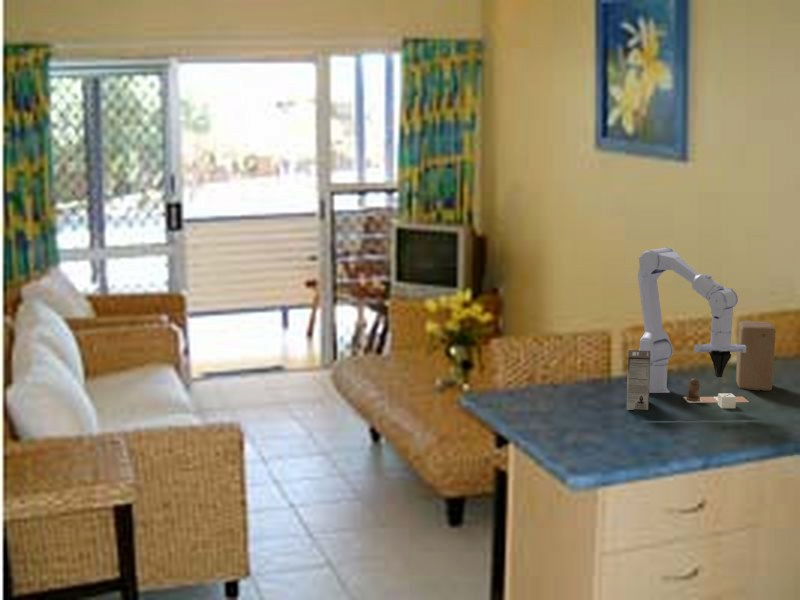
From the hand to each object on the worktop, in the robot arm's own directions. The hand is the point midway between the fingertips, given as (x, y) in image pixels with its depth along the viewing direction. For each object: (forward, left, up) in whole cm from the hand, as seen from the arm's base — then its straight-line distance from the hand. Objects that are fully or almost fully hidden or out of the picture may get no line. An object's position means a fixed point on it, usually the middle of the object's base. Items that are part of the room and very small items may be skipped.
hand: (718, 376), depth 326 cm
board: (+1, +6, -9) cm, 11 cm away
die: (+2, -1, -9) cm, 10 cm away
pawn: (-5, +6, -9) cm, 12 cm away
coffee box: (-23, +1, -10) cm, 25 cm away
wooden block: (+18, +22, -10) cm, 30 cm away
